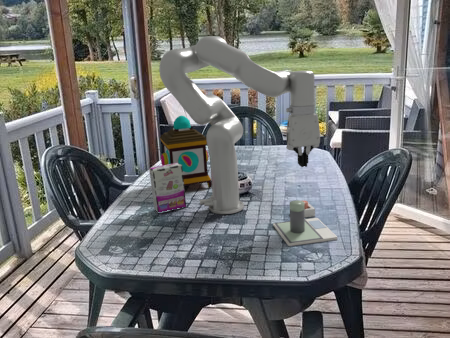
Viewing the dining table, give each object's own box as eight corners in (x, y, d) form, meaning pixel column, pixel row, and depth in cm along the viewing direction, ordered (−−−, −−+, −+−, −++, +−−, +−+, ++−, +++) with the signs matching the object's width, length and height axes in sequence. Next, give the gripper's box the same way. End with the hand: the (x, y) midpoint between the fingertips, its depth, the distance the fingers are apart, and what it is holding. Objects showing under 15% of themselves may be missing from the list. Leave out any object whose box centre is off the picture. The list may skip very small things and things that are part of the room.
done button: (300, 212, 148) (300, 204, 147) (297, 209, 151) (297, 201, 150) (309, 211, 149) (309, 203, 148) (306, 208, 152) (306, 200, 151)
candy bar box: (181, 204, 167) (177, 162, 162) (186, 207, 162) (183, 165, 158) (153, 210, 162) (148, 167, 157) (157, 214, 158) (153, 170, 153)
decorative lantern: (203, 176, 200) (198, 110, 192) (216, 188, 182) (211, 116, 174) (159, 182, 195) (153, 114, 186) (168, 196, 176) (161, 121, 168)
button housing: (297, 218, 147) (297, 211, 146) (292, 211, 153) (291, 204, 152) (315, 216, 148) (315, 208, 147) (308, 209, 154) (308, 202, 153)
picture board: (288, 246, 128) (288, 243, 127) (273, 225, 142) (273, 223, 142) (337, 239, 130) (337, 236, 130) (317, 219, 145) (317, 217, 145)
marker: (293, 234, 133) (292, 206, 131) (288, 228, 137) (287, 201, 135) (306, 232, 134) (306, 204, 131) (301, 226, 138) (301, 199, 136)
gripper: (283, 114, 136) (284, 171, 141) (329, 110, 138) (329, 166, 143) (276, 110, 143) (277, 165, 148) (320, 107, 145) (320, 160, 150)
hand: (303, 165), depth 146 cm, fingers closed
